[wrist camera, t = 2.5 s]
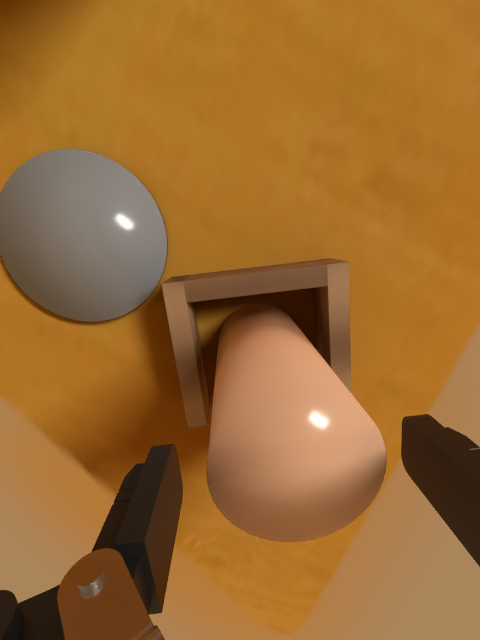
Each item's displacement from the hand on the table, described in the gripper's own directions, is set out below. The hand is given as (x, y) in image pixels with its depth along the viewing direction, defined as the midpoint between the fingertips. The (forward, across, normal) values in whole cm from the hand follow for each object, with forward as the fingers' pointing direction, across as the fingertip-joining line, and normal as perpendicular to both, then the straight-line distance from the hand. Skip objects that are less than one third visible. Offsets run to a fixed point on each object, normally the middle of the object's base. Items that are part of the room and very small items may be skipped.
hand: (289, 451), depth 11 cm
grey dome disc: (+11, +10, -8) cm, 17 cm away
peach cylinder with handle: (+11, 0, +1) cm, 11 cm away
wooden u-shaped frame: (+11, 0, 0) cm, 11 cm away
